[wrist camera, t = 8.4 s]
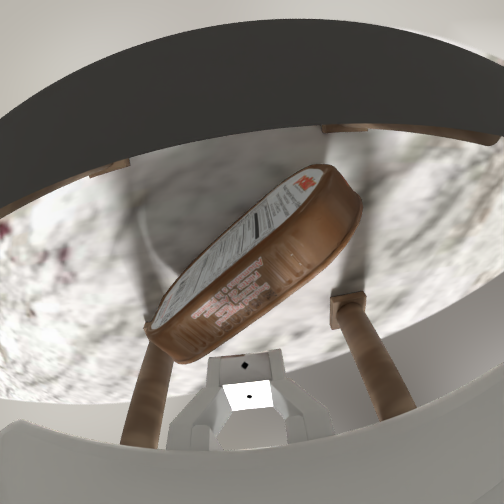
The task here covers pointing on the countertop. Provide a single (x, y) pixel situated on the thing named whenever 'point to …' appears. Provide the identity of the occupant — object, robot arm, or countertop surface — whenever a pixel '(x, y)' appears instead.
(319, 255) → the tin
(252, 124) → the grey bar
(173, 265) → the countertop surface
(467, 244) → the countertop surface
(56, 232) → the countertop surface
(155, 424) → the wooden stanchion pair
